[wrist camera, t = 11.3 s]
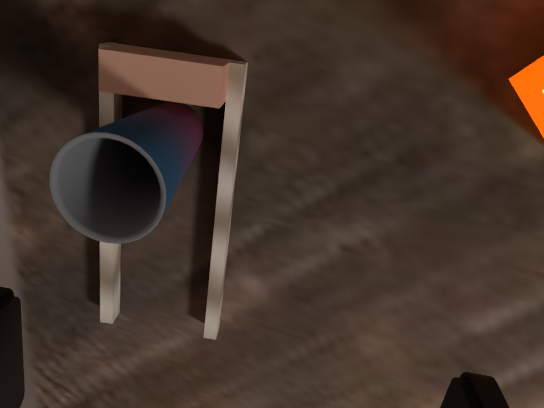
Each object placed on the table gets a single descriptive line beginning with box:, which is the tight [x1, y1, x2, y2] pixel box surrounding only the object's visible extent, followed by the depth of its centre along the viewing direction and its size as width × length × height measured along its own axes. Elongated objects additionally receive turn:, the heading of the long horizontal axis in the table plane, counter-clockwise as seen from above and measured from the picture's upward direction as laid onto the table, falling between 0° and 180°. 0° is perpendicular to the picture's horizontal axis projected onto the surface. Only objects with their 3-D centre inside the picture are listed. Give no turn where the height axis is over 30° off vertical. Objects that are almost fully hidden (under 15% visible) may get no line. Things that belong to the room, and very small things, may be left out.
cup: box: [49, 101, 203, 244], centre depth 35 cm, size 7×7×15 cm
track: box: [98, 42, 248, 340], centre depth 42 cm, size 26×11×5 cm, turn 173°
